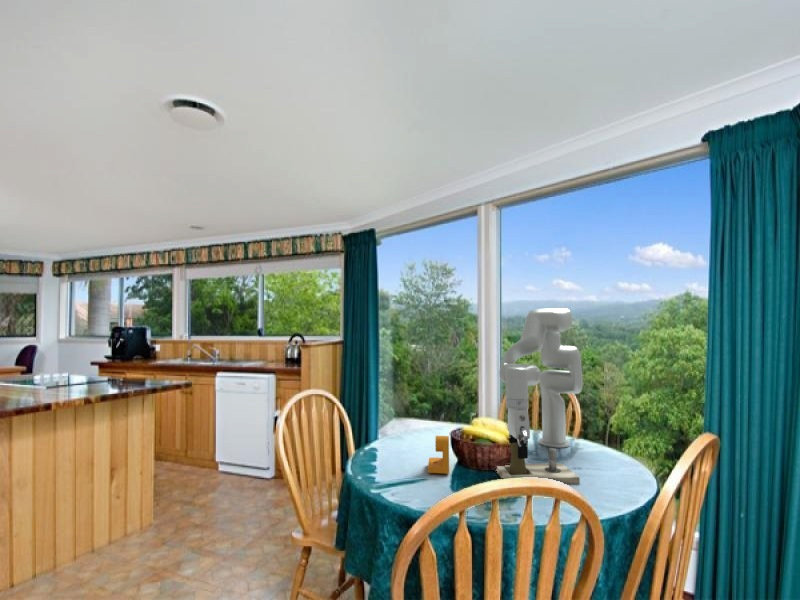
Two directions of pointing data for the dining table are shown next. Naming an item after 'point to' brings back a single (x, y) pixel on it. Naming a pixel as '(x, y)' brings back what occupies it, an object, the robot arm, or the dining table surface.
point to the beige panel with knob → (544, 471)
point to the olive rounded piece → (516, 462)
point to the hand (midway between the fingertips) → (518, 453)
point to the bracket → (440, 463)
